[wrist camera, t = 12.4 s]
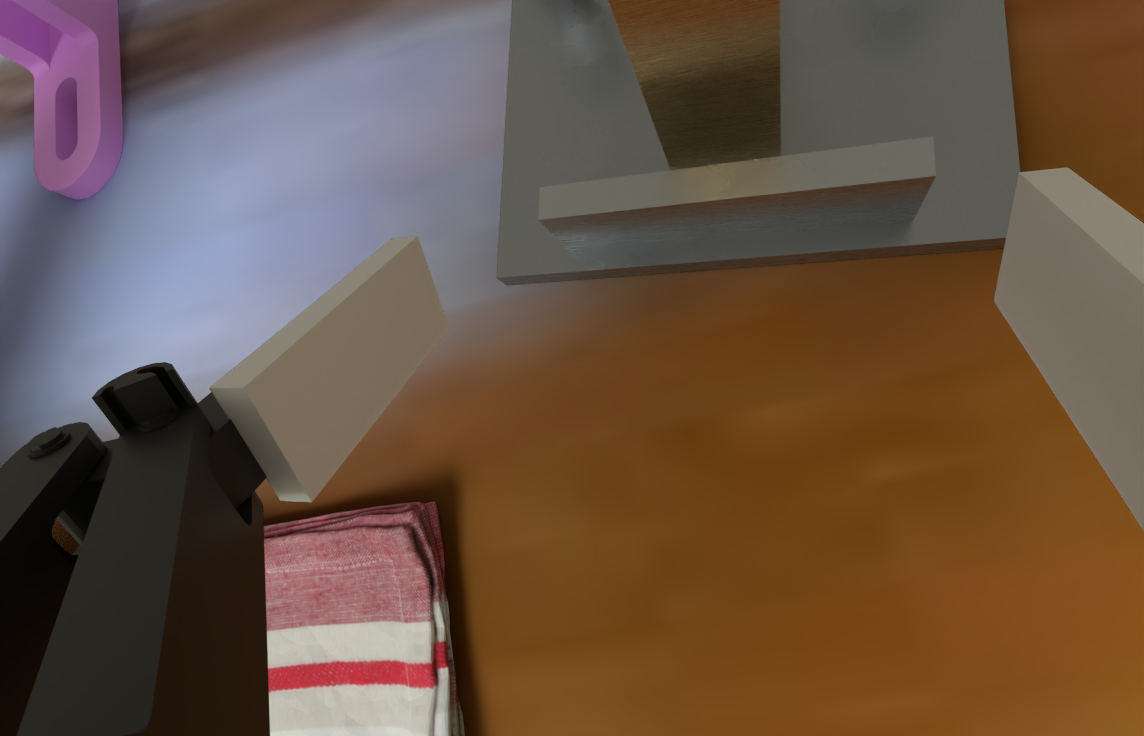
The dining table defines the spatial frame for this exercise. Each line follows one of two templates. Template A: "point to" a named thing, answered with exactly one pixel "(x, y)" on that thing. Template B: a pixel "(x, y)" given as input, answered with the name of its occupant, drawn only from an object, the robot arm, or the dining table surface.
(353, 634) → the dish towel
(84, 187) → the bracket
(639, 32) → the tan block
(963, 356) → the dining table surface
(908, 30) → the steel base leaf
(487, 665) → the dining table surface
